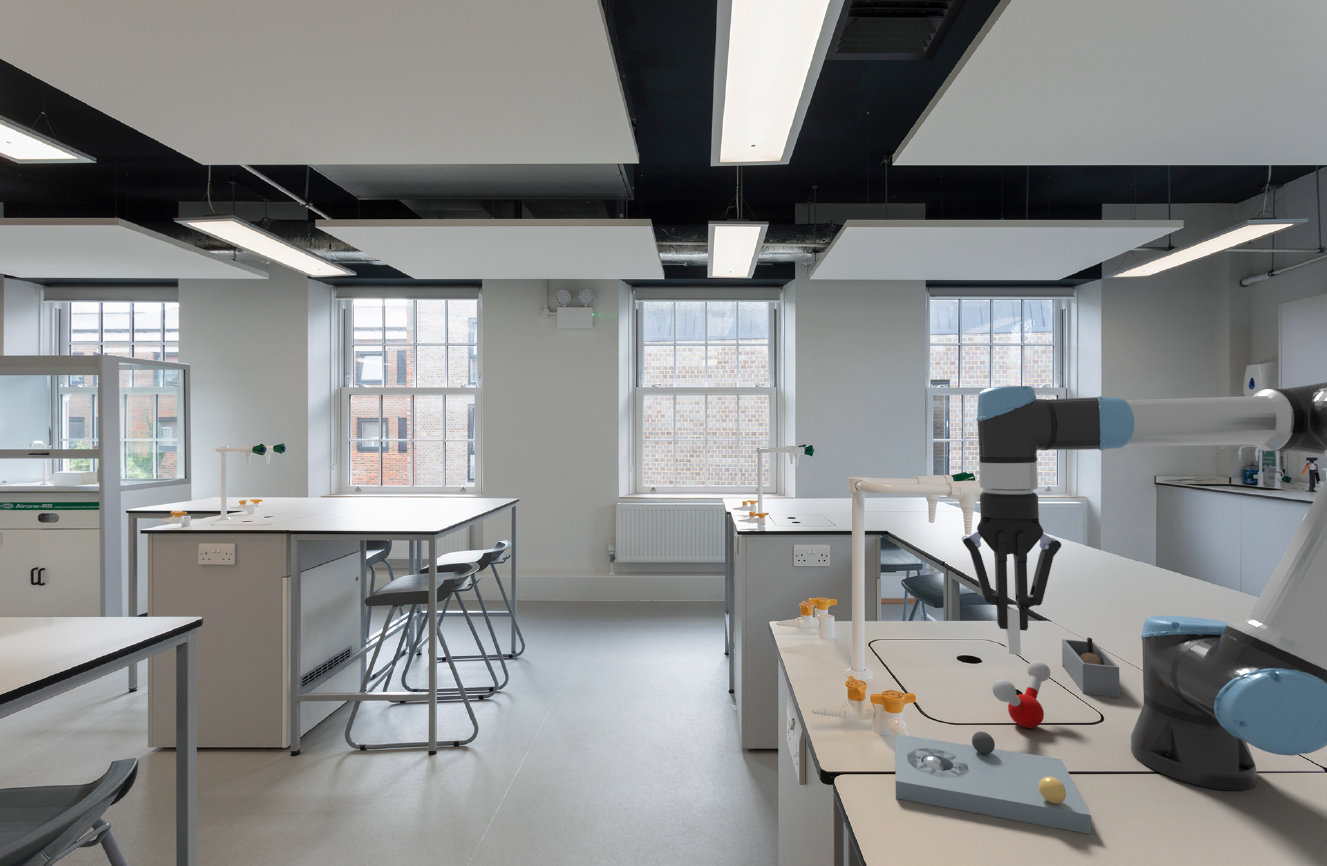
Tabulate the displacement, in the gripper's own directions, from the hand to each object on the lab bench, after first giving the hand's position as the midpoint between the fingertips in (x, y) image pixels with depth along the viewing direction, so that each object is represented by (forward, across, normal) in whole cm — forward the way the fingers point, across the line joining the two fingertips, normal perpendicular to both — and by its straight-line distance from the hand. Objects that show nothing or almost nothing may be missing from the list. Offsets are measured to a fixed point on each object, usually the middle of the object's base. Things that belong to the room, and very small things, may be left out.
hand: (1013, 651), depth 91 cm
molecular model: (+21, -5, -24) cm, 32 cm away
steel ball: (+19, +11, 0) cm, 22 cm away
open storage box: (+21, -22, -52) cm, 60 cm away
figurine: (+22, -22, -52) cm, 61 cm away
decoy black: (+17, +4, -5) cm, 18 cm away
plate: (+21, +5, 0) cm, 21 cm away
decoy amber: (+17, -3, +6) cm, 18 cm away
